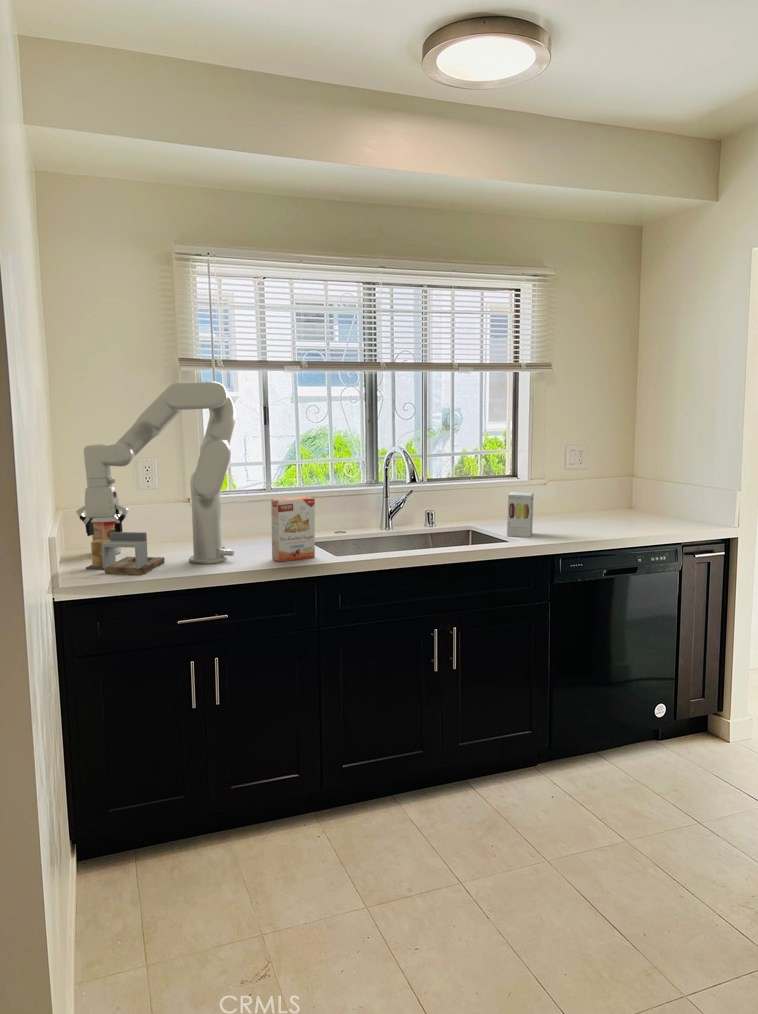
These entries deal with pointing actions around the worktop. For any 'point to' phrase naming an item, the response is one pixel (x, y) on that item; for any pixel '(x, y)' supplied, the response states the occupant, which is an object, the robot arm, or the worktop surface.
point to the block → (97, 552)
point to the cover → (125, 540)
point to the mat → (94, 567)
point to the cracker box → (293, 528)
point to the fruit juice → (104, 530)
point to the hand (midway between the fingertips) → (104, 534)
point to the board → (134, 565)
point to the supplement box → (520, 514)
